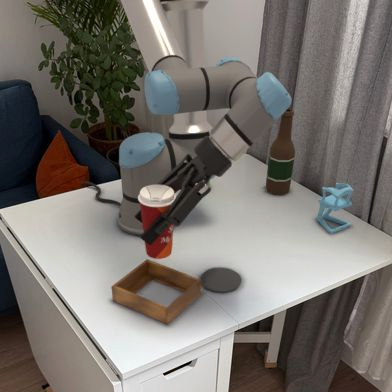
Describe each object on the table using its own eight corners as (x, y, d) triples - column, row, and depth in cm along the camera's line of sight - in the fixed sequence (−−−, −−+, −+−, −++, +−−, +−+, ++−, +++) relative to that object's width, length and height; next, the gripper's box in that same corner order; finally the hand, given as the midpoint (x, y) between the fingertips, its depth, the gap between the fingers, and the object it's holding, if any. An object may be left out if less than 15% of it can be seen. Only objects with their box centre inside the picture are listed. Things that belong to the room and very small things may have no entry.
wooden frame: (112, 300, 118) (111, 286, 115) (147, 272, 126) (146, 258, 124) (168, 324, 112) (168, 310, 109) (201, 293, 120) (201, 279, 118)
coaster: (192, 283, 123) (192, 282, 123) (213, 264, 130) (213, 263, 129) (228, 297, 120) (228, 296, 119) (248, 277, 126) (248, 275, 125)
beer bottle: (272, 197, 157) (283, 116, 141) (260, 186, 163) (269, 107, 146) (294, 193, 160) (307, 112, 143) (281, 182, 165) (292, 104, 149)
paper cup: (175, 262, 109) (175, 201, 99) (139, 261, 109) (135, 200, 99) (177, 242, 114) (177, 183, 105) (143, 241, 114) (139, 182, 105)
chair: (329, 214, 150) (337, 175, 142) (350, 226, 145) (360, 186, 137) (310, 221, 147) (317, 181, 139) (330, 234, 142) (340, 193, 134)
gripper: (247, 184, 94) (163, 267, 102) (220, 141, 108) (148, 216, 117) (221, 158, 89) (135, 246, 98) (196, 116, 104) (122, 196, 112)
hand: (142, 230), depth 107 cm, fingers closed on paper cup, 8 cm apart
